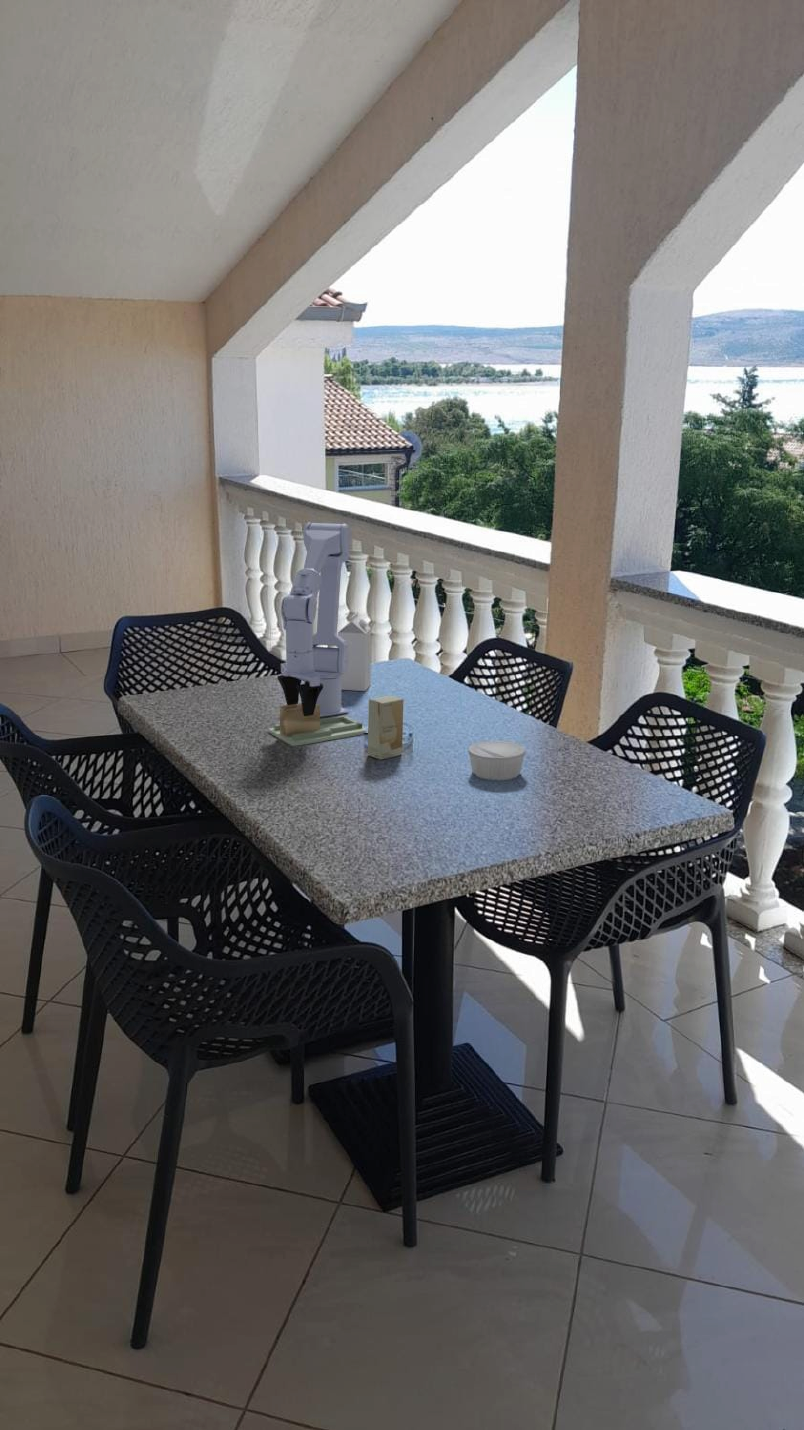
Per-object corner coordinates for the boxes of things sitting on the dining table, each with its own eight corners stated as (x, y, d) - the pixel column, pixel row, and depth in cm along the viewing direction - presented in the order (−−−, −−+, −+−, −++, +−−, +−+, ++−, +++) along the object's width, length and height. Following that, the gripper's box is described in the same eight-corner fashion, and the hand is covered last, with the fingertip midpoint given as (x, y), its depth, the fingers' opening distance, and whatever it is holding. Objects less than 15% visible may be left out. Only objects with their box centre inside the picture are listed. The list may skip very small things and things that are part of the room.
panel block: (280, 732, 243) (279, 706, 242) (312, 727, 248) (312, 701, 246) (287, 737, 241) (287, 710, 239) (320, 731, 245) (319, 705, 243)
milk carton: (338, 690, 282) (337, 616, 276) (344, 683, 289) (343, 611, 283) (365, 691, 281) (365, 617, 275) (370, 684, 287) (371, 612, 282)
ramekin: (460, 778, 218) (461, 753, 217) (476, 762, 229) (477, 737, 227) (516, 786, 215) (517, 760, 213) (530, 768, 225) (531, 744, 223)
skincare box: (380, 760, 228) (380, 703, 225) (366, 755, 231) (367, 699, 228) (403, 754, 232) (404, 698, 229) (390, 749, 236) (390, 694, 232)
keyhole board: (268, 732, 247) (267, 724, 246) (342, 719, 256) (342, 712, 256) (292, 746, 237) (292, 738, 236) (369, 733, 247) (369, 725, 246)
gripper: (267, 645, 243) (269, 705, 247) (298, 659, 231) (299, 721, 235) (296, 642, 246) (297, 701, 250) (328, 655, 235) (328, 717, 239)
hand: (300, 710), depth 243 cm, fingers open, 7 cm apart
